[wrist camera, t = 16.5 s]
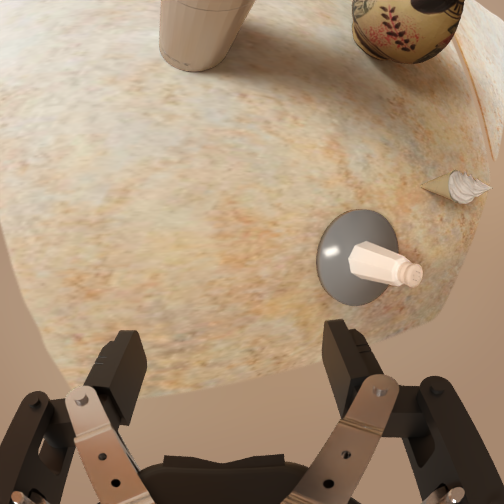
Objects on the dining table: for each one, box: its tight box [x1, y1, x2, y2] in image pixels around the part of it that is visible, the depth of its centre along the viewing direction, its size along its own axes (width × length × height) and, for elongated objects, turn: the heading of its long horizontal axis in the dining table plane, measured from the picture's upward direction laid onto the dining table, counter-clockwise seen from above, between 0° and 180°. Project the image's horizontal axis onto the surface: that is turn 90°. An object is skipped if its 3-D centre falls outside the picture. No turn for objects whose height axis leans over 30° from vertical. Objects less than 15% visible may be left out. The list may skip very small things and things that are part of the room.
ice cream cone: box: [421, 170, 493, 204], centre depth 38 cm, size 5×5×15 cm
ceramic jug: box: [352, 0, 465, 64], centre depth 25 cm, size 17×15×30 cm
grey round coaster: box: [316, 209, 398, 306], centre depth 43 cm, size 14×14×2 cm
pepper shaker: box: [348, 241, 423, 287], centre depth 37 cm, size 5×5×11 cm
